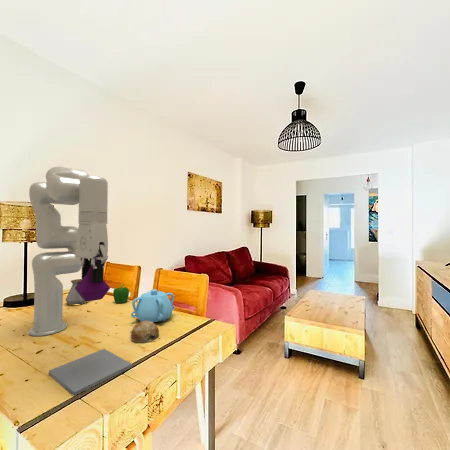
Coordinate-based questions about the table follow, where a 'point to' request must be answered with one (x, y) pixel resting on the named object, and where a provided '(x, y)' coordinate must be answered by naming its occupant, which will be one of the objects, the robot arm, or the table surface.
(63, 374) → the slate tile
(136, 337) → the bread roll
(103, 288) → the perfume bottle
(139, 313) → the decorative pot
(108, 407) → the table surface
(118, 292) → the bell pepper
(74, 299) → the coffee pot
